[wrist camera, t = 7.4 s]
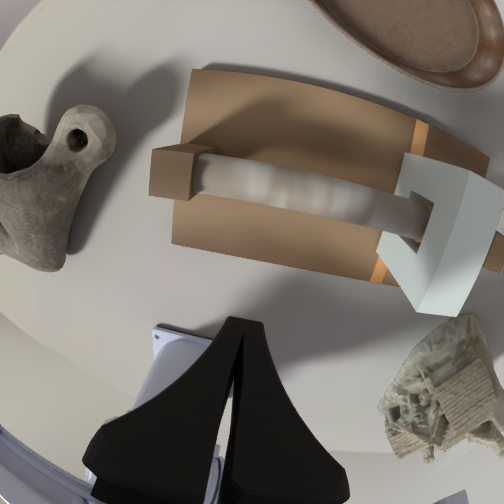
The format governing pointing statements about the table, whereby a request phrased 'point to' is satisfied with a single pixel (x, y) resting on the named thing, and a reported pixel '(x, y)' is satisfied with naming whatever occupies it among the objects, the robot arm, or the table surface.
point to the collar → (442, 234)
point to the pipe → (47, 182)
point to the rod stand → (298, 175)
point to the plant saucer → (426, 37)
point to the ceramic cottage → (445, 393)
